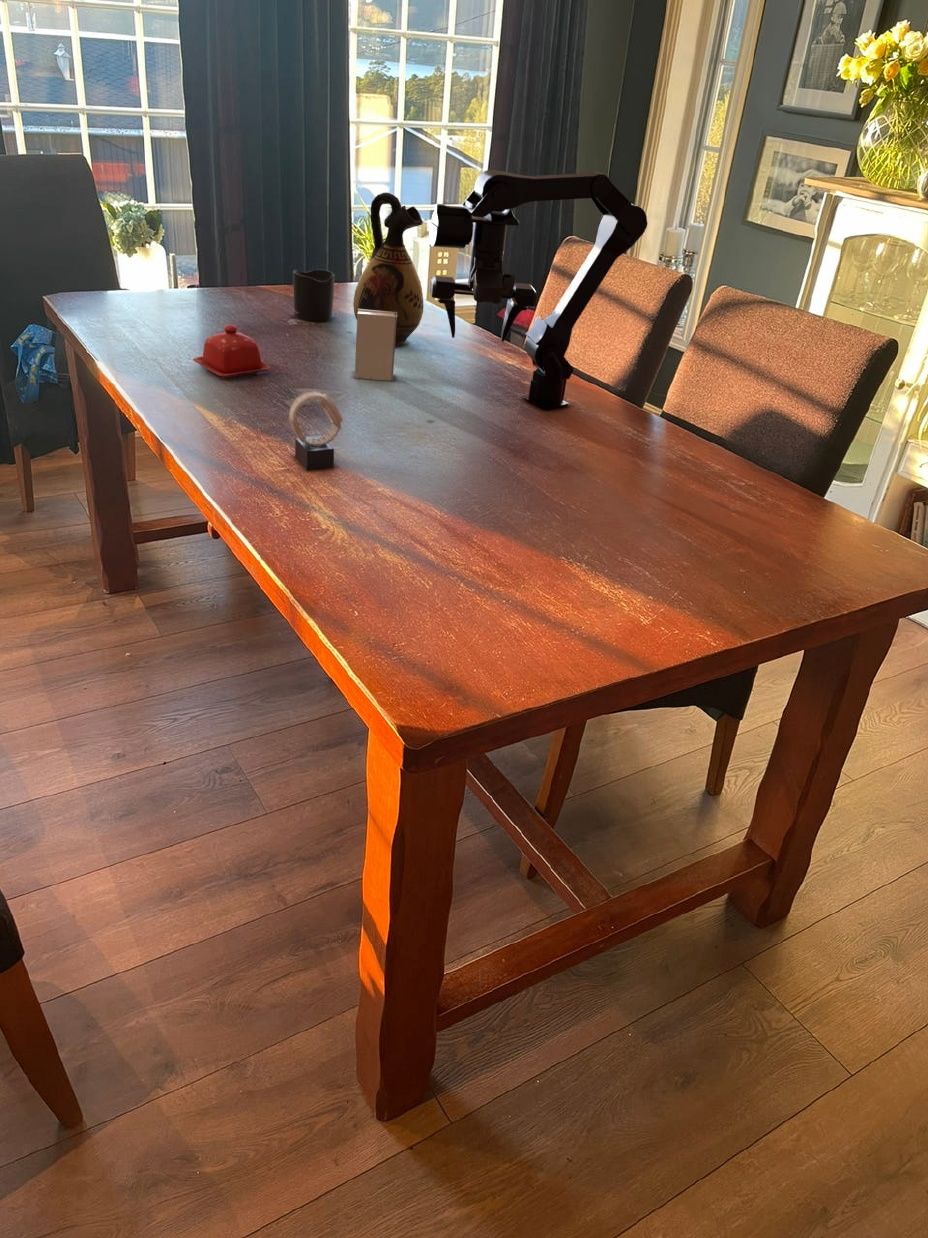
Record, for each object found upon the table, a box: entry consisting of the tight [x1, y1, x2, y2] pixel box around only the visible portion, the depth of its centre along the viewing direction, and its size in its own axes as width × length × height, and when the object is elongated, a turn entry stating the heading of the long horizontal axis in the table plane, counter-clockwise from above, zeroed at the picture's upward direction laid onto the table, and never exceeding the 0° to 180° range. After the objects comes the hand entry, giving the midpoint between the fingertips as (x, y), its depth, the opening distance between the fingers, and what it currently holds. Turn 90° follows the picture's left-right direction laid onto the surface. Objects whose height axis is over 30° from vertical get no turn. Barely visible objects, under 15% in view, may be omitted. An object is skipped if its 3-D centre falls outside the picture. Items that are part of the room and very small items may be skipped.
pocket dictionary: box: [354, 309, 397, 382], centre depth 183 cm, size 8×4×12 cm, turn 94°
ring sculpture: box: [288, 390, 344, 471], centre depth 144 cm, size 6×8×11 cm
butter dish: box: [192, 324, 271, 378], centre depth 178 cm, size 12×12×8 cm
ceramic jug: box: [352, 191, 425, 348], centre depth 202 cm, size 17×15×30 cm
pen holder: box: [292, 268, 336, 323], centre depth 217 cm, size 9×9×10 cm
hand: (477, 339), depth 173 cm, fingers open, 9 cm apart
